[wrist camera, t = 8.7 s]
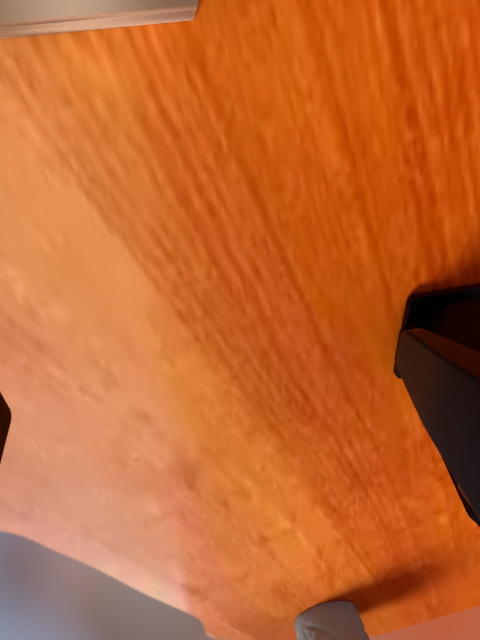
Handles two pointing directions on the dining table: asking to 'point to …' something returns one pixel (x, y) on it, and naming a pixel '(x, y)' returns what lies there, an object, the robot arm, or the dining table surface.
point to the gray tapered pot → (330, 622)
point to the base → (87, 15)
